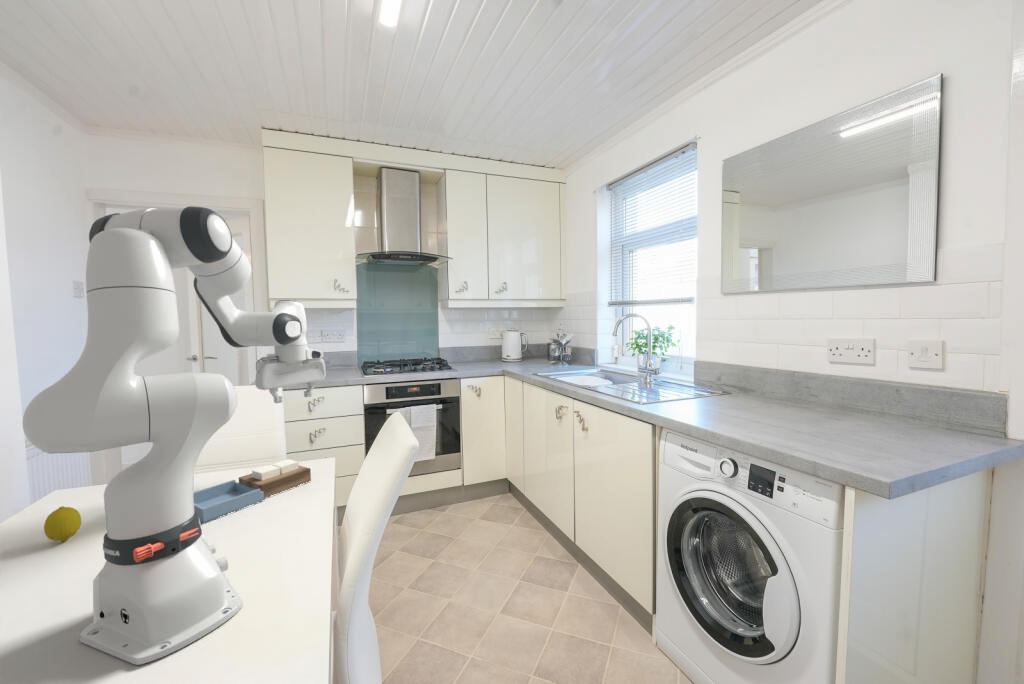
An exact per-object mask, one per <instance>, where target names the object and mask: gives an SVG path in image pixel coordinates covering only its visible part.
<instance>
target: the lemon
mask: <svg viewBox="0 0 1024 684" xmlns="http://www.w3.org/2000/svg"><path fill="white" fill-rule="evenodd" d="M81 526H82V516H81V514H80V512H79V511H78V510H77V509H76V508H74V507H71V506H62V505H61V506H59V507H58V508H57V509H55V510H53V511H52V512H51V513H49V514H48V515H47V517H46V519H45V521H44V524H43V531H44V534H45V536H46V537H47V539H49V540H51V541H54V542H55V541H58V542H61V543H65V542H67V541H68V540H69V539H70V538H71V537H73V536H75V535H76V534H77V533H78V531H79V530H80V529H81Z"/></svg>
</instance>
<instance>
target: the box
mask: <svg viewBox="0 0 1024 684" xmlns="http://www.w3.org/2000/svg"><path fill="white" fill-rule="evenodd" d="M262 500H264V501H265V499H264V492H263V491H261V489H255V488H252V487H249V486H246V485H244V484H241V483H239V481H238V482H236V479H231V480H228V481H226V482H223V483H220V484H217V485H213V486H209V487H207V488H204V489H200V490H197V491H194V509H195V510H196V511H197V514H198V517H199V519H200V523H201V522H202V523H201V524H203V523H205V524H207V523H206V522H208V521H210V522H212V521H211V520H213V519H215V520H217V519H216V518H218V517H220V516H223V515H226V514H228V513H231V512H234V511H236V512H238V511H237V510H239V509H242V508H244V507H247V506H249V505H252V504H255V503H257V502H260V501H262ZM260 503H261V502H260ZM257 504H258V503H257ZM255 505H256V504H255ZM252 506H253V505H252ZM247 508H248V507H247ZM244 509H245V508H244ZM242 510H243V509H242ZM239 511H240V510H239ZM234 513H235V512H234ZM231 514H232V513H231ZM226 516H227V515H226ZM223 517H224V516H223ZM218 519H219V518H218ZM213 521H214V520H213ZM208 523H209V522H208Z"/></svg>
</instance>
